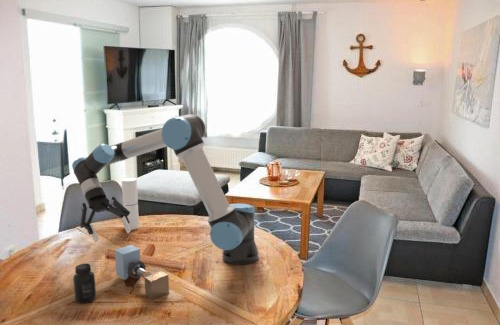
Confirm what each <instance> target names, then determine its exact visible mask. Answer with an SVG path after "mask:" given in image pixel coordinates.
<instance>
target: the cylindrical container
mask: <svg viewBox="0 0 500 325" xmlns="http://www.w3.org/2000/svg"><path fill="white" fill-rule="evenodd" d="M121 188H122V189H121V191H122V206H124V207H125V208H126V209H127V210H128V211H130V214H129V215H128V217H127V218H128V220H129V226H130V228H131V231H133V230H136V229H139V228H140V218H139V217H140V216H139V200H138V198H139V197H138V182H137V178H136V177H126V178H122V179H121Z"/></svg>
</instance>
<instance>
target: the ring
mask: <svg viewBox="0 0 500 325" xmlns="http://www.w3.org/2000/svg"><path fill="white" fill-rule="evenodd" d="M138 264H140V268H142V269H144V270H146V264H145V263H144V262H142V260H140V261H139V260H135V261H132V262H131V263H130V265H129V266H128V268H127V271H128V277H131V278H133V279H139V278H142V277H141V276H140V275H138V274H135V273H134V272H133V271H132V270H133V268H134V267H135V265H138Z"/></svg>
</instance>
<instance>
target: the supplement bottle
mask: <svg viewBox="0 0 500 325" xmlns="http://www.w3.org/2000/svg"><path fill="white" fill-rule="evenodd" d="M74 268H75V270H74V271H75V274H74V275H73V277H72V281H73V291H74V293H73V294H74V300H75V302H76V303H78V304H87V303H90V302H93V301H95V299H96V297H97V289H96V280H95V276H96V275H95V273H94V272H93V271H92V269H91V264H89V263H80V264H77V265H76V266H75V267H74Z"/></svg>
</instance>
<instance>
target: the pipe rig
mask: <svg viewBox="0 0 500 325" xmlns="http://www.w3.org/2000/svg"><path fill="white" fill-rule="evenodd" d="M129 265H130V263H128V264H127V268H128V266H129ZM132 271H133V273H134V272H135V273H136V274H138V275H140V276H141V277H140V278H142V279H143V280H144V290H145V292H144V294H145V297H146V298H147V299H149V300H151V301H154V300H156V299H159V298H161V297H163V296H165V295H168V294H170V282H169V280H170V279H169V274H168V273H166V272H164V271H162V270H161V271H158V272H156V273H151V272H150V271H149V270H146V269H145V270H144V269H142V268H140V267H139V266H137V265H135V267H134V268H133V270H132ZM135 273H134V274H135Z"/></svg>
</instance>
